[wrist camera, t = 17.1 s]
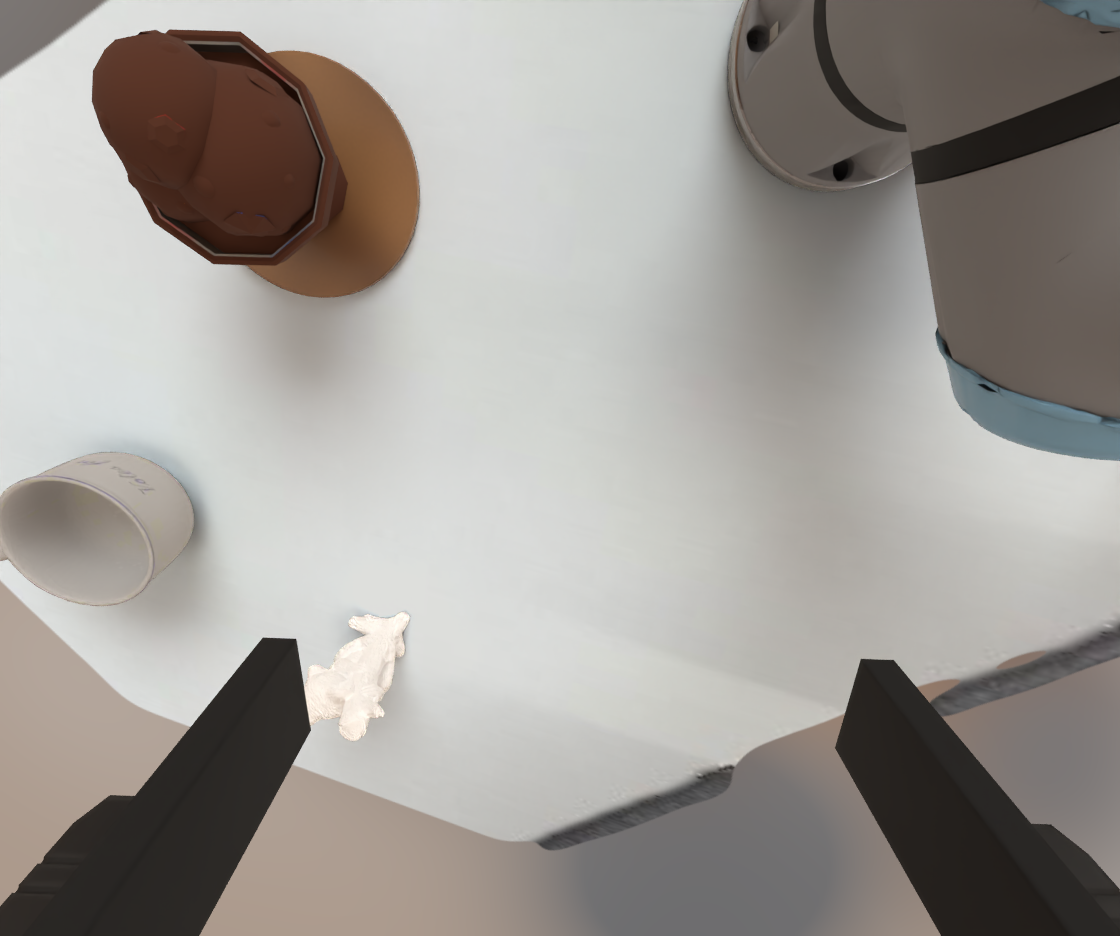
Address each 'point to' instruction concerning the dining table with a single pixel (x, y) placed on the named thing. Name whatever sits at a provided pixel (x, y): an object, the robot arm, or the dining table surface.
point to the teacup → (95, 527)
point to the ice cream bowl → (219, 143)
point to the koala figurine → (357, 675)
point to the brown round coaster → (353, 186)
